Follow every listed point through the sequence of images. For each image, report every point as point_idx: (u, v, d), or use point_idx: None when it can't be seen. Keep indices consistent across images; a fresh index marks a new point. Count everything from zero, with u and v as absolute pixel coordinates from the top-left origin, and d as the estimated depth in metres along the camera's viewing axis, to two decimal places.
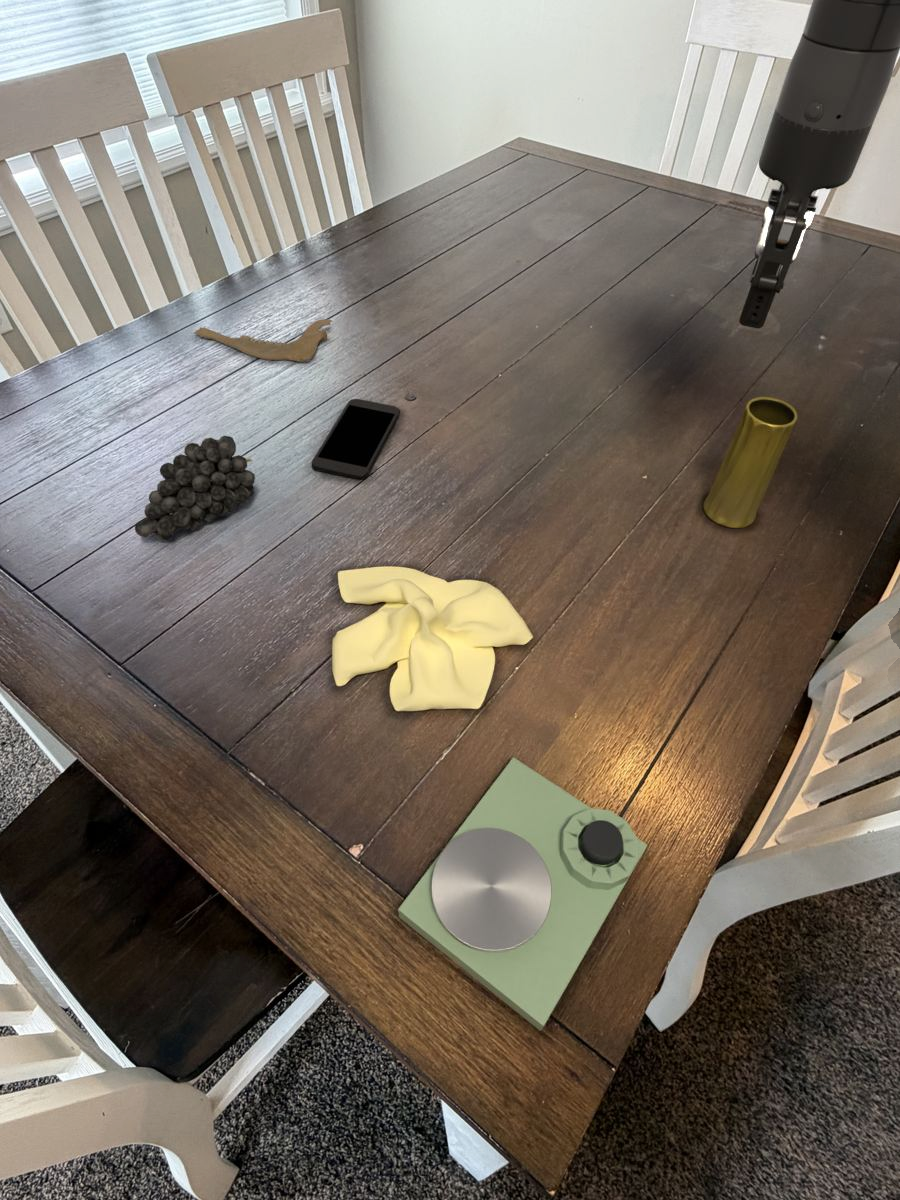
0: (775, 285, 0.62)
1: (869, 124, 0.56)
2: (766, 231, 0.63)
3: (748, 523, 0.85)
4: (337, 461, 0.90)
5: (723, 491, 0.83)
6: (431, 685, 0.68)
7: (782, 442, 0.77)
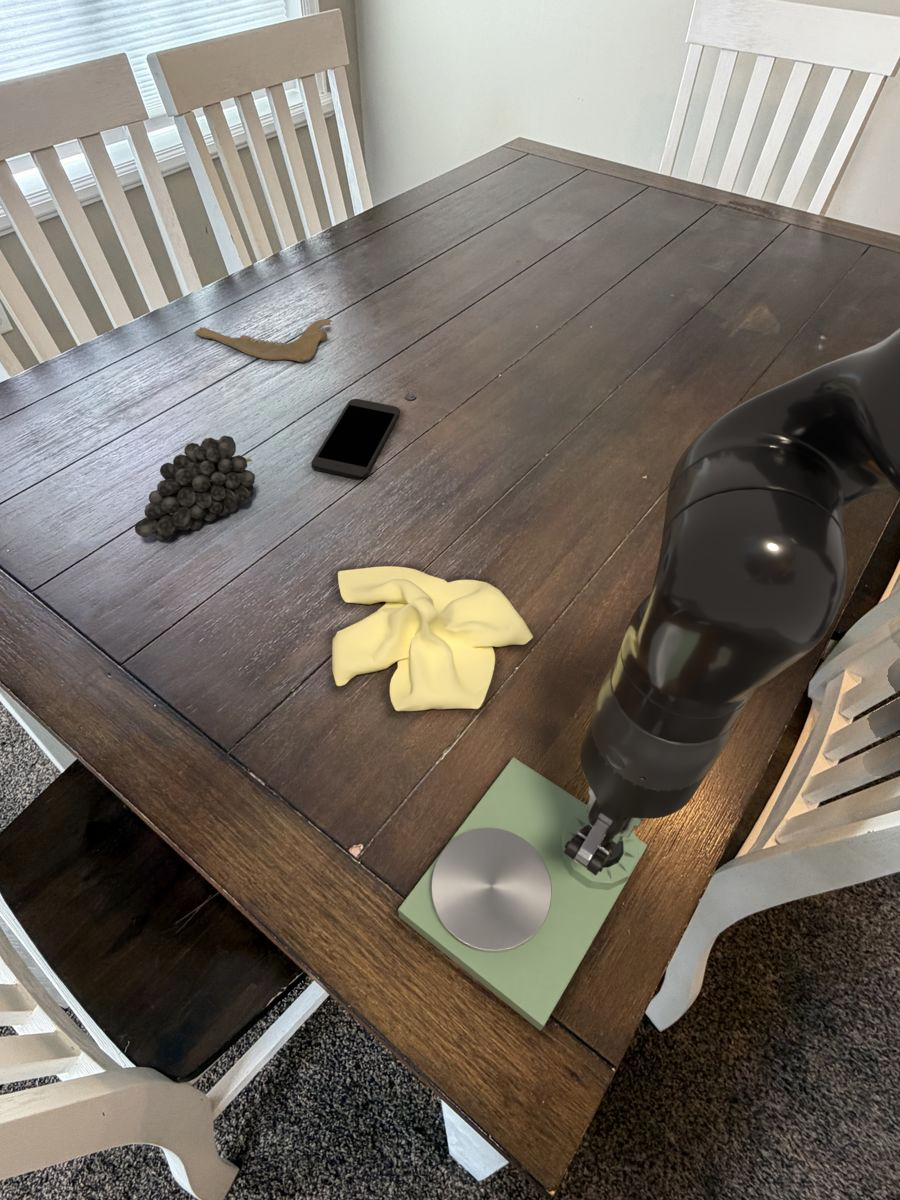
0: None
1: (695, 781, 0.41)
2: (593, 804, 0.50)
3: None
4: (337, 461, 0.90)
5: None
6: (431, 685, 0.68)
7: None
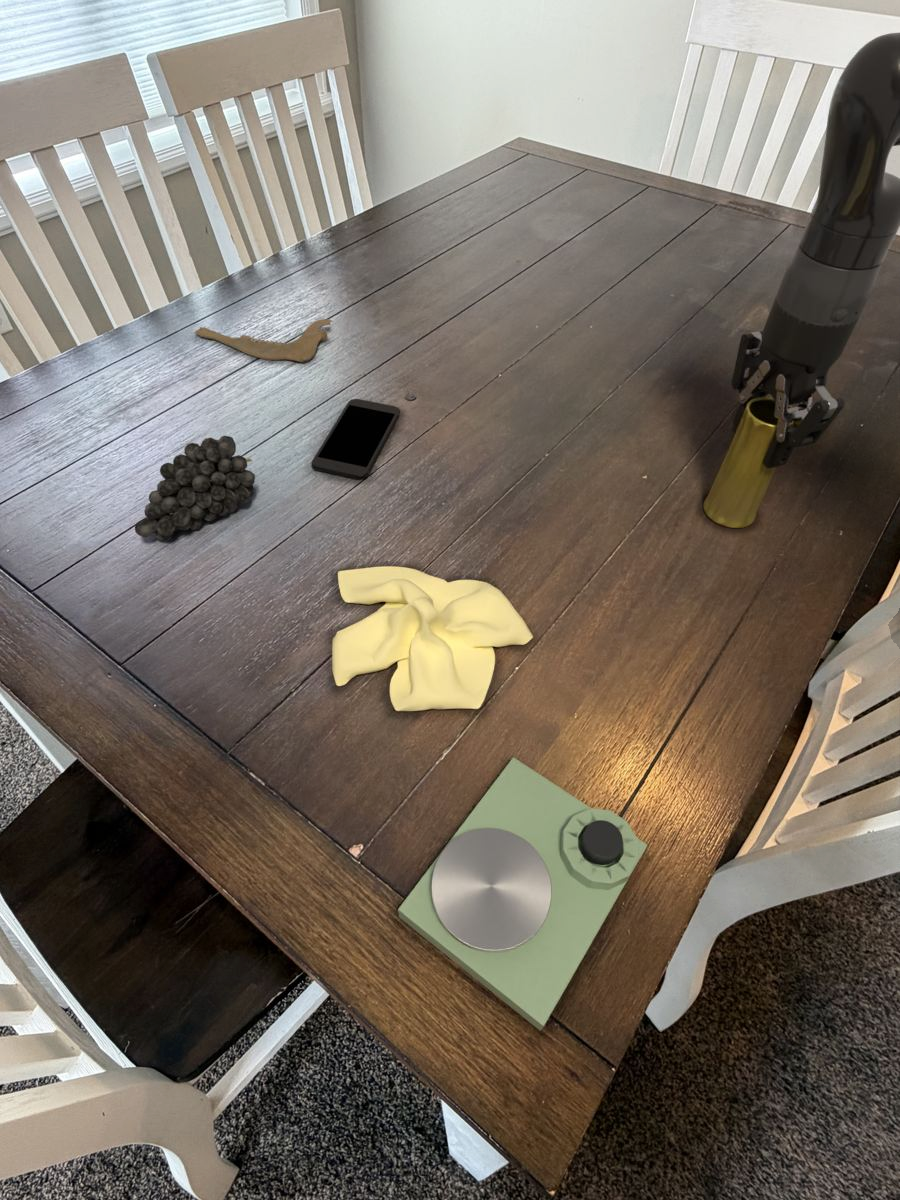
0: (812, 441, 0.73)
1: None
2: (787, 401, 0.72)
3: (748, 523, 0.85)
4: (337, 461, 0.90)
5: (723, 491, 0.83)
6: (431, 685, 0.68)
7: None
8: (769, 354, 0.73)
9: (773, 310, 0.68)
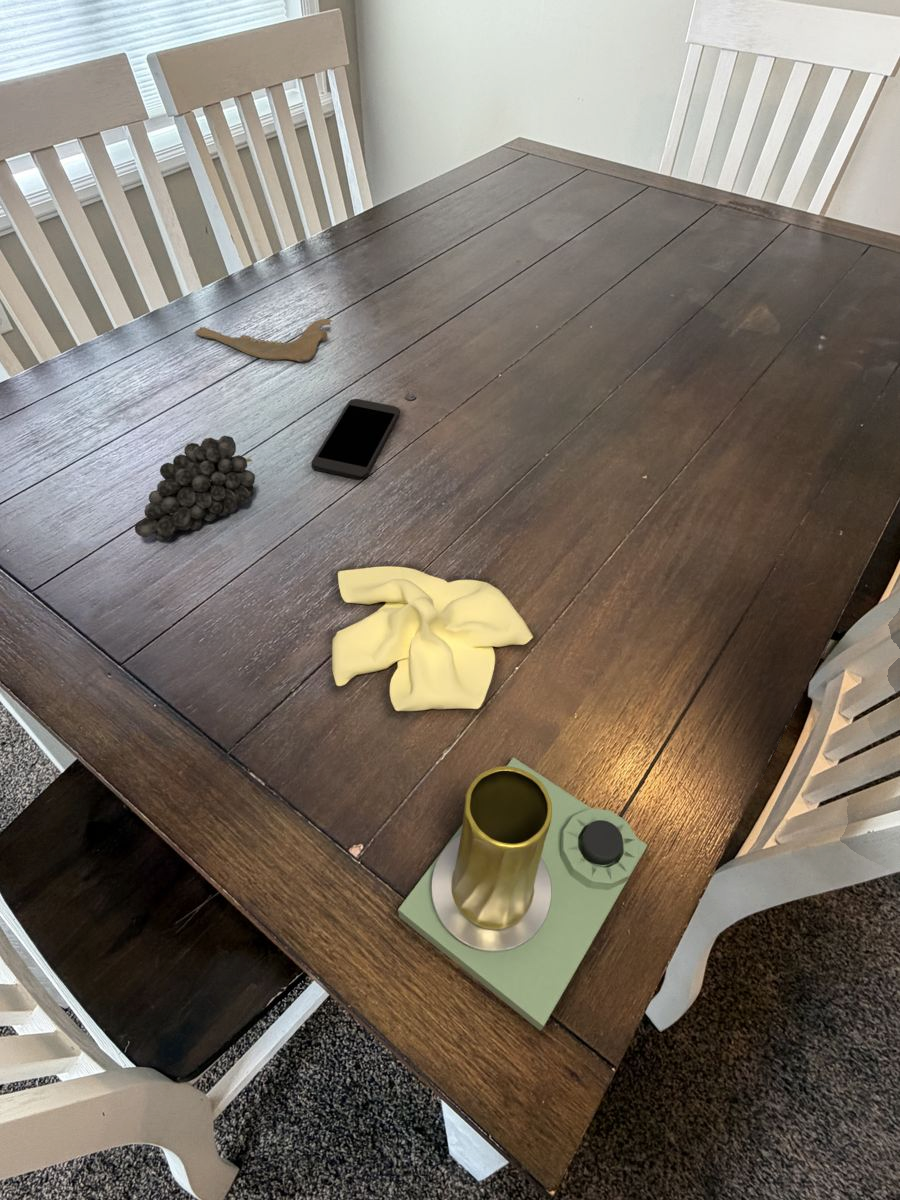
0: None
1: None
2: None
3: (515, 920, 0.52)
4: (337, 461, 0.90)
5: (463, 885, 0.50)
6: (431, 685, 0.68)
7: (530, 855, 0.44)
8: None
9: None
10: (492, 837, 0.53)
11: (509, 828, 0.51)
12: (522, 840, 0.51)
